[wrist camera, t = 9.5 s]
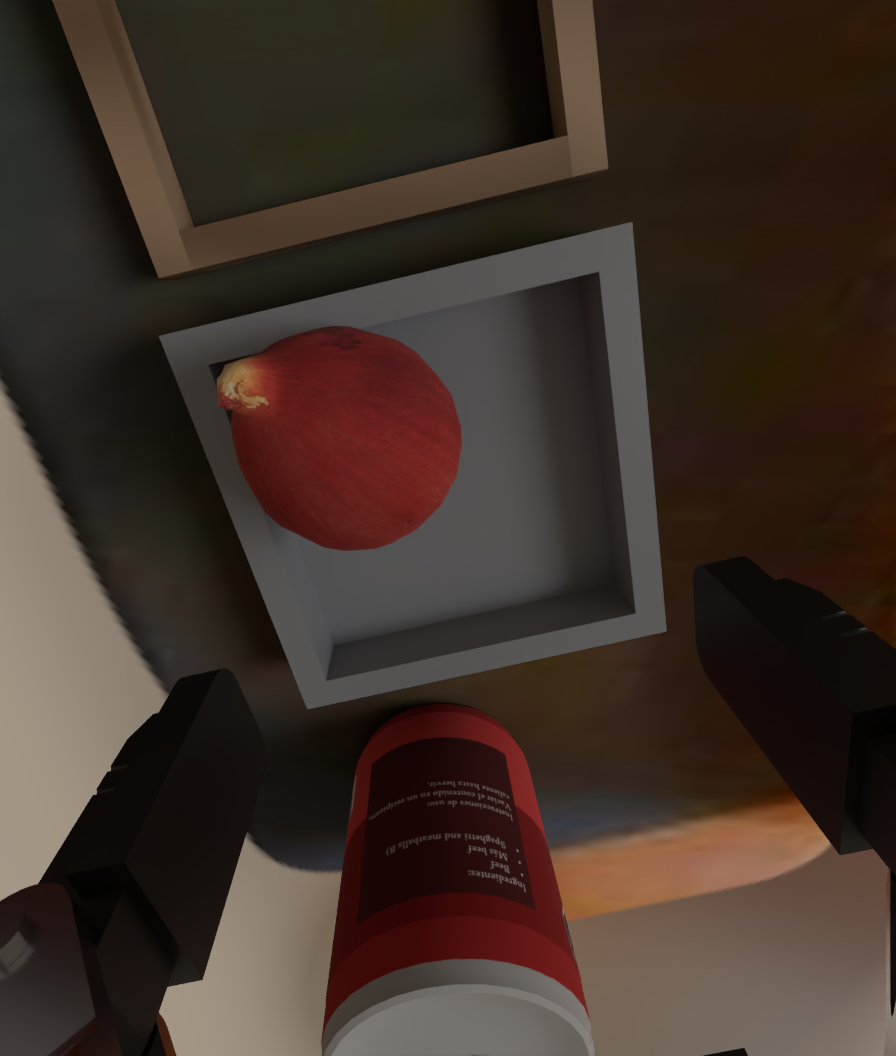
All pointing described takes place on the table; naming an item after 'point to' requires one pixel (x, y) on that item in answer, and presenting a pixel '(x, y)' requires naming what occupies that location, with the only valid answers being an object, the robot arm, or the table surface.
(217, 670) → the robot arm
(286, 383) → the onion
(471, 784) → the canned food
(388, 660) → the bin
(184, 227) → the square frame
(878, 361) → the table surface
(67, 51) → the table surface
